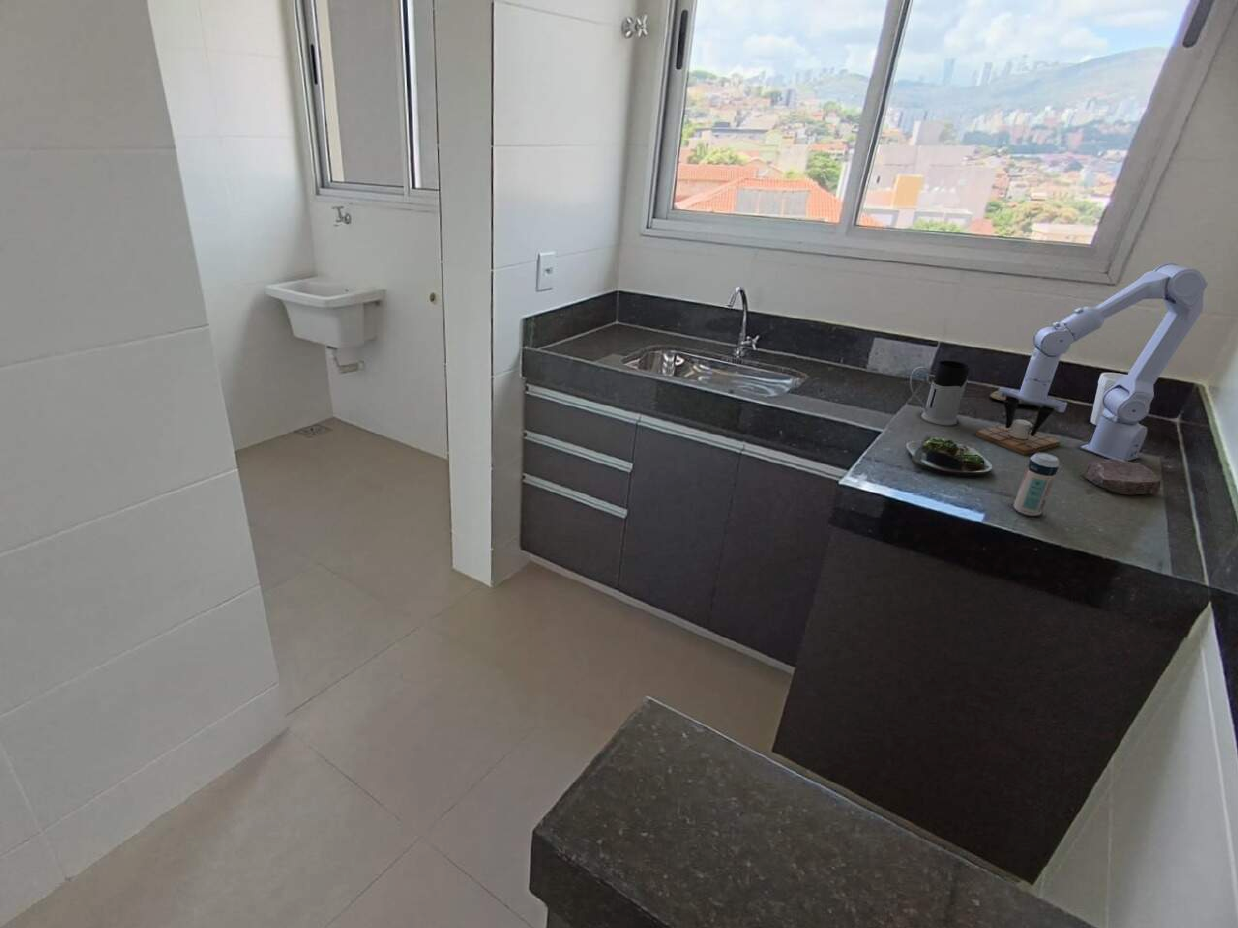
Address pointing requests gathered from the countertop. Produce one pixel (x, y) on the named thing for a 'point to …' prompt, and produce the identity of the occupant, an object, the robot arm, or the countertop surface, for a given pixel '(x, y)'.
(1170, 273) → the robot arm
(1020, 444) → the board
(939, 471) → the salad plate
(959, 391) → the glass holder
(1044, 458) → the supplement jar
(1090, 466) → the stone
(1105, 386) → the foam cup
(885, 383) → the countertop surface
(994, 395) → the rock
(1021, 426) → the white cylinder
